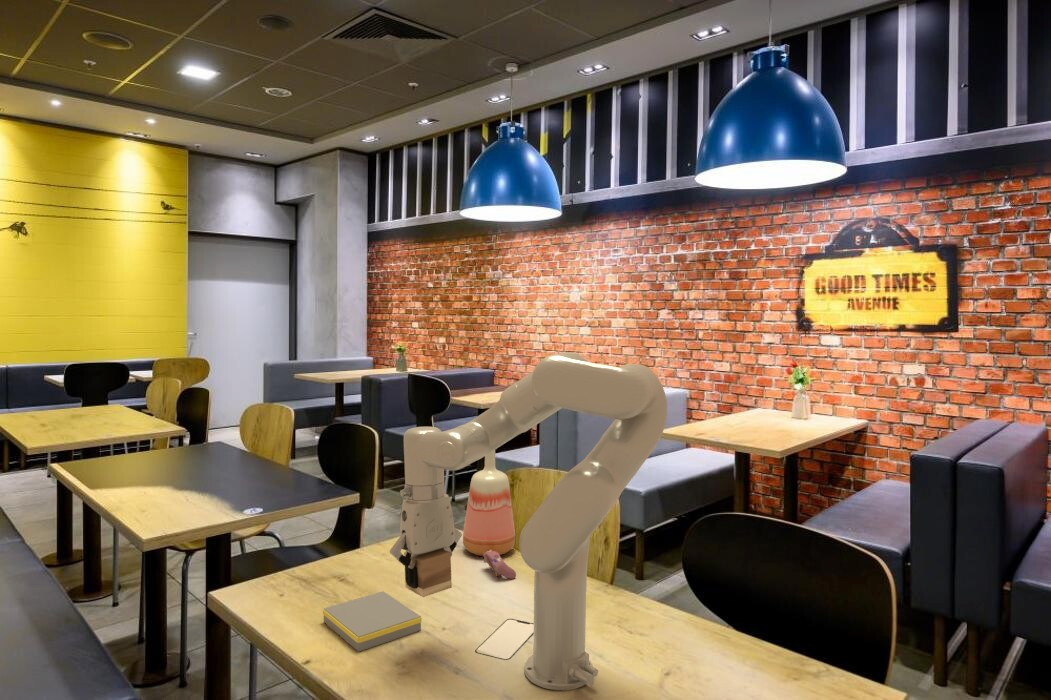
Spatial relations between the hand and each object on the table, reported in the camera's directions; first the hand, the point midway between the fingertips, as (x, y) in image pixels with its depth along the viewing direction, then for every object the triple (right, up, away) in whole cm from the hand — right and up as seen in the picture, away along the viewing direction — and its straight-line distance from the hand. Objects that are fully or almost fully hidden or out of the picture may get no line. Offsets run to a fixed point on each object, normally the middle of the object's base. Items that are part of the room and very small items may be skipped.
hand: (428, 580), depth 133 cm
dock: (-13, -13, +9) cm, 20 cm away
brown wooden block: (0, -1, 0) cm, 1 cm away
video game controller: (+12, -12, +38) cm, 42 cm away
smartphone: (+16, -14, +5) cm, 21 cm away
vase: (+9, -10, +54) cm, 56 cm away
